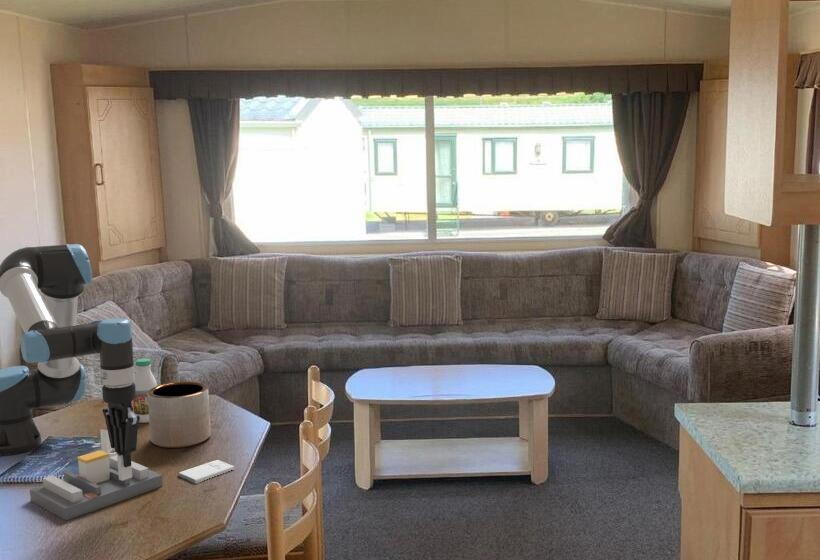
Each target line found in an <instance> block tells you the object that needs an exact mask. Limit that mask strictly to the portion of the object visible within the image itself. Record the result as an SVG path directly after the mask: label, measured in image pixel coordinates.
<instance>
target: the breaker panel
mask: <svg viewBox="0 0 820 560" xmlns="http://www.w3.org/2000/svg"><path fill="white" fill-rule="evenodd" d="M109 463H110V464H109V472H110V479H109V480H106V481H103V482H100V483H97V484H94V483H92V482H90V481H88V480H86V479H84V478H82V477H80V476H79V473H77V474H75V473H73V472H72V471H69V470H67V471H64V472H63V477H64V478H62V479H60V478H58V477H56V476H55V475H52V474H51V475H49V476H45V477H43V478H42V483H43V484H42V485H38V486H36V487H33V488H30V489H29V496H30V501H31V502H32V503H34V504H36V505H38V506H39V507H40V508H43V509H45V510H47V511H49V512H51V514H54V515H55V516H58V517H59V518H61V519H63V520H65V521H68V520H71V519H72V520H73V519H75V518H78V517H80V516H83V515H86V514H88V513H91V512H94V511H97V510H99V509H102V508H105V507H107V506H111V505H114V504H115V503H116V504H117V503H119V502H122V501H124V500H127V499H130V498H133V497H136V496H139V495H141V494H145V493H146V492H150V491H152V490H155V489H159V488H160V487H163V475H162V474H160V473H158V472H155V471H153V470H151V469H149V467H147V466H144V465H142V464H140V463H138V462H135V461H132V460H131V466H132V478H129V479H126V480H123V481H122V480H119V474H118V461H117V455H116V456H113V457H109Z"/></svg>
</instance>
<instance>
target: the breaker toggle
mask: <svg viewBox="0 0 820 560" xmlns="http://www.w3.org/2000/svg"><path fill="white" fill-rule="evenodd" d="M108 457H109V454H108V453H106V452H103V451H102V449H100V450H99V449H98V450H96V451H92V452H88V453H86V454H83V455H79V456H77V462H78V463H77V464H78V474H79V476H80V477H82V478H84V479H86V480H88V481H90V482H92V483H94V484H97V483H100V482H103V481H106V480H109V479H110V472H109V459H108Z"/></svg>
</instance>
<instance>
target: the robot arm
mask: <svg viewBox="0 0 820 560" xmlns="http://www.w3.org/2000/svg"><path fill="white" fill-rule="evenodd" d="M92 281H93V271H92V265H91V262H90V258H89V255H88V253H87V250H86V248H85V247H84V246H83V245H81V244H79V243H75V244H72V243H71V244H69V243H65V244H57V245H42V246H40V245H39V246H27V247H26V246H25V247H22V248H19V249H17V250H14V251H13V252H11V253H10V254H9V255H7V256H6V257H5V258H4V259H3V260H2V262H1V263H0V293H1V295H3V296H4V297H6V298H7V299H8V301H9V303H10V305H11V307H12V309H13V312H14V313H15V315H16V316H15V317H17V320H18V322H19V324H20V326H21V328H22V331H23V333H22V334H21V335H20V338H19V339H20V340H19V341H20V343H19V345H20V352H21V355H22V359H23V360H24V361H25V363H28V364H35V363H37V368H36V369H30V368H29V367H28V366H27V365H18V366H16V365H15V366H8V367H5V368H1V369H0V456H10V455H18V454H21V453H25V452H26V453H27V452H29V451H32V450H34V449H36V448H38V447H39V446H41V444H42V435H41V433H40V431H39V429H38V426H37V425H36V422H35V420H34V416H33V410H34V409H35V410H36V409H41V408H47V407H54V406H57V405H58V406H59V405H63V404H67V405H68V404H70V403H73V402H78V401H79V400H81V399H82V398H83V396H84V394H85V391H86V386H87V381H86V371H85V367H84V365H83V364H82V363H80V362H79V359H77V358H78V357H84V356H85V357H86V356H90V355H97V354H99V355H98V356H99V362H100V378H101V384H102V387H101V390H102V391H101V392H102V400H103V402H104V403H107V407H104V408H103V409H102V413H103V416H104V418H105V425H106V430H108V435H109V440H110V445H111V448H114V449H115V452H116V453H117V461H118V474H119V480H122V481H123V480H126V479H129V478H132V466H131V461H132V453H134V452H136V451H137V445H138V444H137V443H138V429H139V424H140V423H139V420H140V417H139V415H136V416H135V415H134V406H133V399H135V398H136V387H135V384H134V383H133V382H134V381H135V375H136V373H135V363H134V361H135V360H134V349H133V348H134V347H133V334H134V333H133V331H132V327H131V326H132V325H131V321H130V320H129V319H127V318H120V317H117V318H106V319H94V320H91V321H90V322H88V323H86V324H79V325H78V324H77V321H78V320H77V319H78V301H79V297H80V296H81V295H83V293H84V292H85V286H86V285H89V284H91V283H92ZM44 296H45V299H44ZM76 357H77V358H76Z"/></svg>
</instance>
